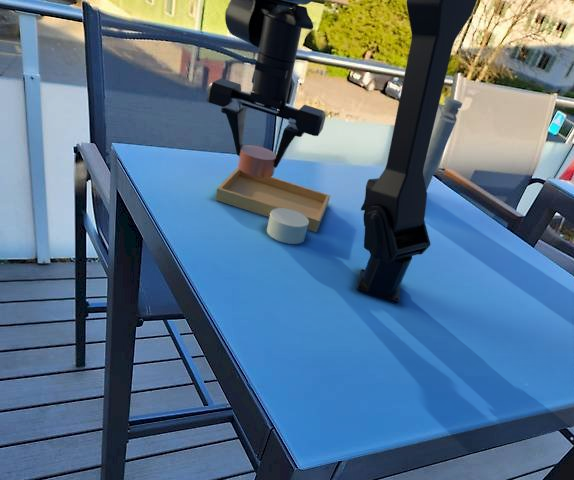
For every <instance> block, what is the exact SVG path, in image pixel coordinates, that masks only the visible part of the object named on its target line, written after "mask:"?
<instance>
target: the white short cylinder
mask: <svg viewBox="0 0 574 480" xmlns="http://www.w3.org/2000/svg"><path fill="white" fill-rule="evenodd" d="M308 224H309V220H308V219H307V217H305V216H304V215H303V214H301V213H299V212H297V211H294V210H291V209H285V208H277V209H273V210H272V211H271V212H270V216H269V217H268V221H267V226H266V233H267V235H268V236H269V237H270V238H272V239H274V240H275V241H278V242H280V243H284V244H288V245H299V244H302V243H303V242H304V241H305V239H306V235H307V231H308V230H307V228H308Z"/></svg>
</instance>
